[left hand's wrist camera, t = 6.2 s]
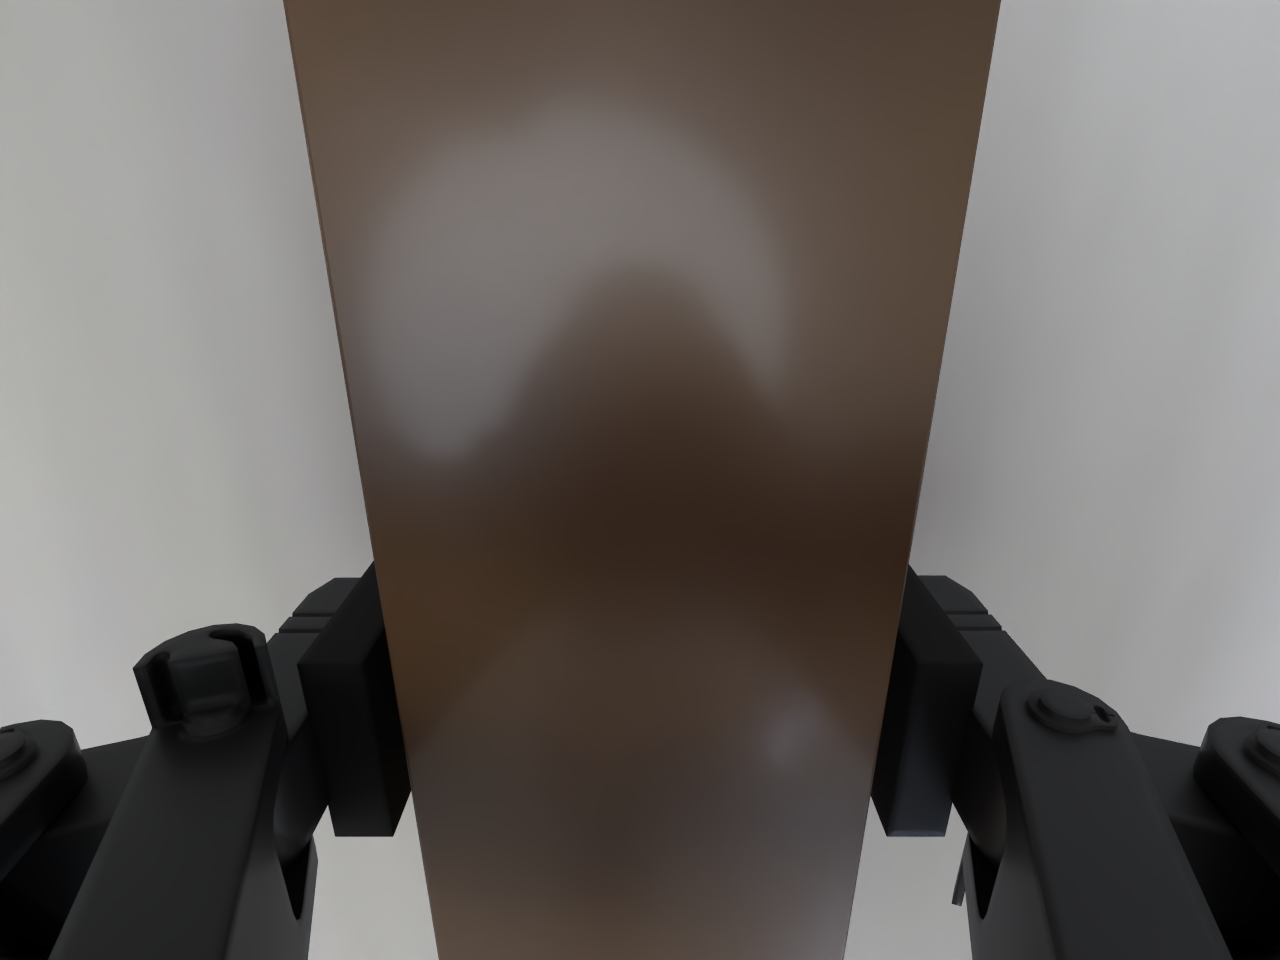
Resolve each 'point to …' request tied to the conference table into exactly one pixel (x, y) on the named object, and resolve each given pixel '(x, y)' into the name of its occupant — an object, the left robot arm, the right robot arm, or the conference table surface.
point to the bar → (641, 435)
